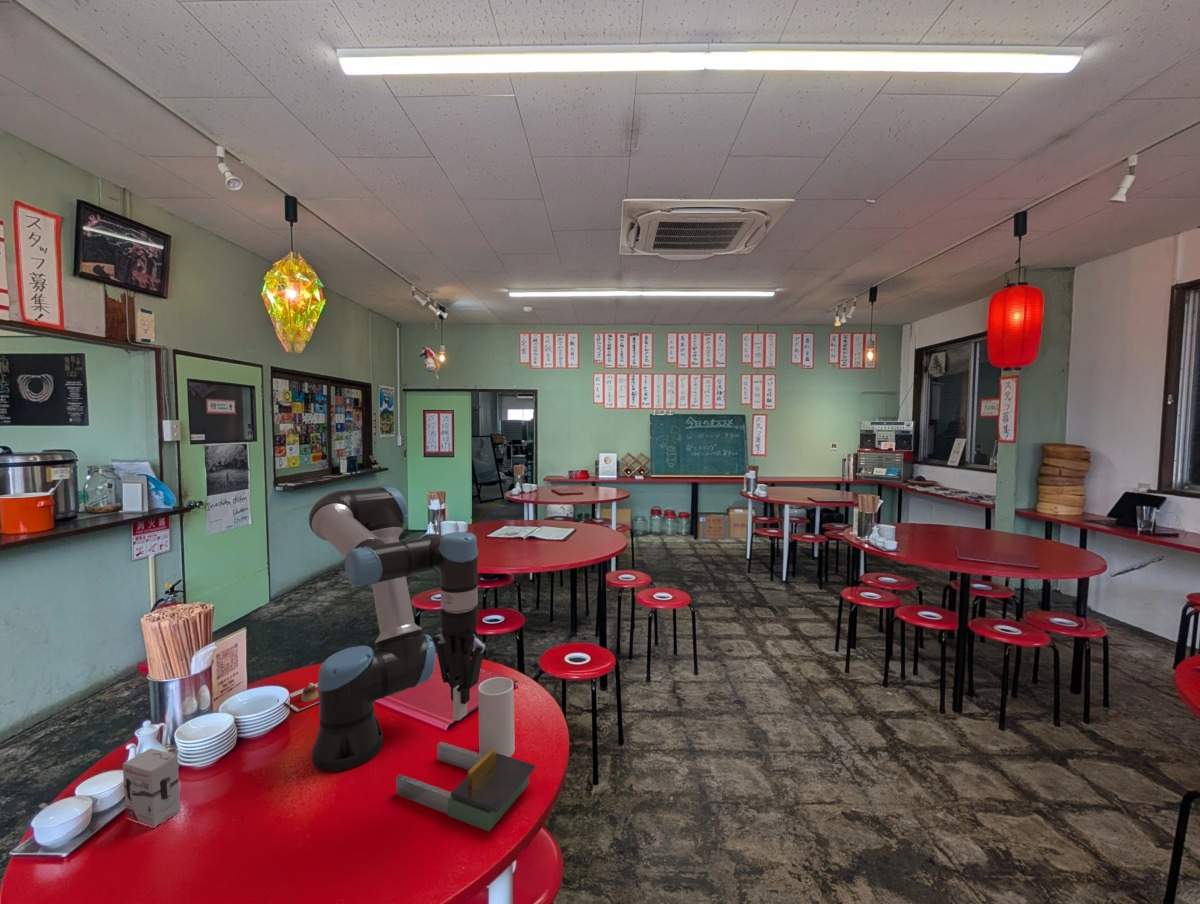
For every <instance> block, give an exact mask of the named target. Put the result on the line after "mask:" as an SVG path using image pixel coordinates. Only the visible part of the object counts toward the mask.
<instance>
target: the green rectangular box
mask: <svg viewBox="0 0 1200 904" xmlns="http://www.w3.org/2000/svg"><path fill="white" fill-rule="evenodd" d="M529 785H530V775H529V776H528V777H527V779H526V780H525V781H524V782H523V783H522V784H521V786H520V787H519V788H518V789H517V790H516V791H515V793H514V794H513V795H512V796H511V797H510V798H509V800H508V801H507V802H506V803H505V804H504V805H503V807H502V808H501V809H500V810H499V811H498V813H495V812H492V811H490V810H487V809H484V808H481V807H479V806H476V805H473V804H471V803H468V802H465V801H462V800H460V799H457V798H454V797H451V796H450V797H448V798H447V799H448V814H447V816H448V817H449V818H453V819H456V820H458V821H460V822H463V823H465V824H468V825H471V826H474V827H476V828H479V829H481V830H484V831H486V832H491V830H493V828H494V827H495V825H496V824H497V823H498V822H499V821H500V820H501V818H502V817H503V816H504V814H506V812H507V811H508V810H509V809H510V808H511V807H512V805H513V804H514V803H515V801H516V800H517V799H519V797H520V795H522V793H523V792H524V791H525V790H526V788H528V786H529Z"/></svg>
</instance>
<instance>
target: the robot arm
mask: <svg viewBox="0 0 1200 904" xmlns="http://www.w3.org/2000/svg"><path fill="white" fill-rule="evenodd" d="M408 512H409V510H408V504H407V502H406V499H405V497H404V495H403V494H402V492H401V491H400V490H399V489H397V488H395V487H391V486H389V487H388V486H387V487H385V486H378V487H371V488H360V489H359V488H358V489H357V488H356V489H344V490H337V491H333V492H331V493H328V494H326V495H324V496H322V497H321V498H320V499H319V500H317V502H315V503H314V505H313V506H312V507H311V509H310V512H309V514H308V525H309V528H310V529H311V532H313V534H314V535H315V536H316V537H317V538H319V539H321V540H323V541H328V542H329V544H331V545H332V547H334V549H336V550H337V552H338V553H340V555H342V557H343V558H344V570H345V571H344V572H345V575H346V578H347V581H348V583H349V584H350V585H352V586H353V587H359V586H360V587H361V586H366V585H368V586H371V587H372V593H373V598H374V599H373V600H374V604H375V611H376V618H377V622H378V629H379V630H378V631H379V634H378V637H377V638H376V640H375V641H374V645H375V649H372V648H371V647H370V646H368V645H358V646H355V645H354V646H351V647H347V648H346V647H345V648H344V649H341V650H339V651H337V652H335V653H333V654H332V655H330V656H329V657H326V659H325V660H324V661H323V662H322V663H321V665H320V666H319V669H318V678H317V679H318V680H317V681H318V682H317V683H318V687H317V689H318V694H319V696H318V702H319V703H318V704H319V707H318V708H319V711H318V713H319V728H318V731H317V735H316V738H315V739H316V740H315V743H314V745H313V747H312V752H311V761H312V766H313V767H314V768H315V769H317V770H319V771H322V772H328V773H329V772H341V771H346V770H350V769H353V768H356V767H358V766H361V765H363V764H365V763H367V762H368V761H370V760H371V759H372V758H374V757H375V756H376V755H377V754H378V753H379V752H380V750H381V749H382V748H383V745H384V737H383V736H384V735H383V730H382V727H381V725H380V723H379V720H378V718H377V716H376V714H375V702H376V701H378V700H381V699H384V698H386V697H389V696H391V695H395V694H398V693H400V692H403V691H406V690H408V689H412V688H416V687H417V686H419V685H421V684H423V683H426V682H427V681H429V680H430V678H431V677H432V676H433V673H434V670H435V667H436V661H437V660H436V653H437V659H438V663H439V668H440V674H441V679H442V682H443V683H444V684H445V683H447V684H448V686H449V688H450V700H451V702H452V705H453V707H452V708H453V709H452V711H453V712H452V713H453V714H452V715H453V717H452V719H453V720H456V721H457V722H458V721H461V720H462V719H463V718H464V717H465V716H467V715H468V702H470V699H471V698H470V697H471V696H470V694H471V693H470V692H471V690H470V689H471V688H473V687H474V686H476V685H477V684H478V683H479V678H480V673H481V668H482V664H483V658H484V654H485V652H486V649H487V648H488V646H489V645H488V643H487V642H486V641H484V642H482V641H481V640H480V639H479V635H478V631H477V626H478V622H479V612H478V611H479V609H478V604H479V597H478V596H479V594H478V593H479V591H478V587H479V586H478V569H479V568H478V566H479V565H478V564H479V563H478V555H479V550H478V544H477V543H478V541H477V536H476V535H475V534H473V533H472V532H464V531H457V532H456V531H455V532H449V533H445V534H443V535H442V534H438V533H424V534H422V535H419V536H418V537H417V538H416V539H410V540H402V541H400V539H399V537H400V535H401V534H402V532H403V531H404V528H403V526H406V524H407V522H408V519H409V518H408V517H409V516H408V514H409V513H408ZM431 572H435V573H436V574H439V578H440V582H439V584H440V586H439V587H440V607H441V610H440V626H441V632H440V633H439V634H437V635H435V636H433V637H431V635H429V634H424V632H423V628H422V627H421V626H419V625H417V623H415V617H414V612H413V607H412V603H411V596H410V592H409V586H408V581H407V577H411V576H417V575H421V574H425V573H431Z"/></svg>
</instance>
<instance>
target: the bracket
mask: <svg viewBox="0 0 1200 904" xmlns="http://www.w3.org/2000/svg"><path fill="white" fill-rule="evenodd" d="M436 745H437V746H436V747H437V751H436V752H437V760H438V761H441V762H443V763H445V764H446V763H447V764H450V765H452V766H456V767H459V768H462V769H464V770H468V771H469V770H470V769H471V768H472V767H473V766H474V765H475V764H476V763H477V762H478V761H479V760H480V759H482V758H483V757H484V756H485V755H483V754H480V752H476V751H472V750H470V749H466V748H463V747H459V746H456V745H453V744H450V743H447V742H444V741H440V742H438V743H437V744H436ZM395 783H396V785H395V786H396V796H399V797H402V798H405V799H406V800H410V801H413V802H415V803H417V804H420V805H423V806H425V807H427V808H431V809H433V810H435V811H438V812H440V813H444V814H446V815H448V799H447V798H448V797H450V796H451V792H452V791H448V790H447V789H442V788H440V787H438V786H436V785H435V786H434V785H431V784H429V783H426V782H423V781H421V780H417V779H415V778H412V777H409V776H407V775H404V774H401V773H400V774H399V775H397V776H396V777H395Z"/></svg>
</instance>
